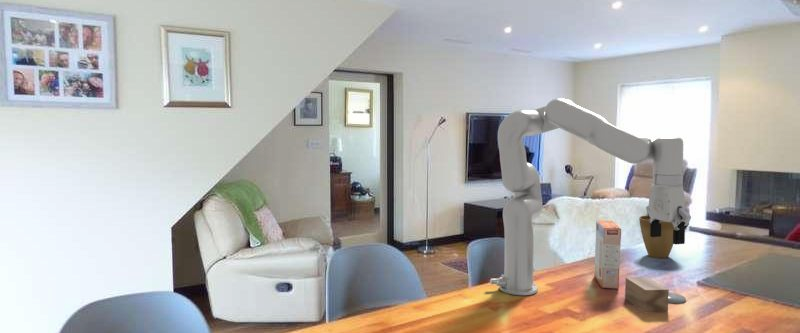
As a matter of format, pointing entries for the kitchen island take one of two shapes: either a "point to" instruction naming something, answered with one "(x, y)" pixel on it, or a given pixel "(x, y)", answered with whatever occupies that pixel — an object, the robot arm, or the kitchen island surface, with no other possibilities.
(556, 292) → the kitchen island surface
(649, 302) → the brown block
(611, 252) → the cracker box
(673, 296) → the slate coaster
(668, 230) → the plant pot
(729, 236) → the kitchen island surface
